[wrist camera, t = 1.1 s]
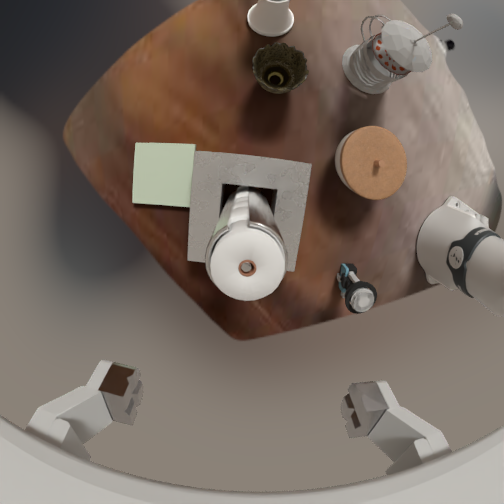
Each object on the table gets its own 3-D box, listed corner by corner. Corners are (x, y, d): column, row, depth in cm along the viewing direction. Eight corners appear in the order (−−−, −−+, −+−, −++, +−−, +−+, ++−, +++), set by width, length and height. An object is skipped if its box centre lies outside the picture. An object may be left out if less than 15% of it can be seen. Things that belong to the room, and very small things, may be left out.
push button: (354, 293, 50) (373, 322, 40) (328, 294, 50) (343, 325, 40) (359, 261, 48) (382, 285, 38) (332, 261, 47) (350, 287, 38)
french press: (358, 100, 38) (456, 66, 14) (326, 42, 34) (391, -34, 11) (401, 87, 36) (501, 59, 13) (371, 32, 33) (450, -28, 9)
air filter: (273, 193, 43) (303, 241, 20) (259, 230, 45) (271, 314, 22) (234, 179, 42) (217, 212, 19) (221, 217, 45) (193, 291, 21)
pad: (196, 144, 40) (195, 144, 39) (191, 206, 44) (189, 207, 43) (137, 143, 40) (135, 142, 39) (134, 201, 43) (132, 202, 42)
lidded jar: (325, 127, 40) (344, 121, 31) (383, 132, 40) (412, 129, 31) (326, 192, 43) (345, 202, 34) (383, 192, 43) (411, 203, 34)
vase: (238, 23, 33) (236, -6, 24) (264, -3, 31) (267, -33, 22) (276, 44, 35) (284, 18, 25) (301, 17, 33) (313, -11, 23)
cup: (299, 102, 38) (310, 91, 31) (252, 101, 38) (253, 90, 31) (297, 60, 36) (307, 43, 28) (250, 60, 36) (251, 41, 28)
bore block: (303, 162, 42) (311, 164, 36) (288, 257, 47) (294, 271, 41) (201, 151, 41) (194, 150, 35) (194, 247, 46) (187, 260, 41)
